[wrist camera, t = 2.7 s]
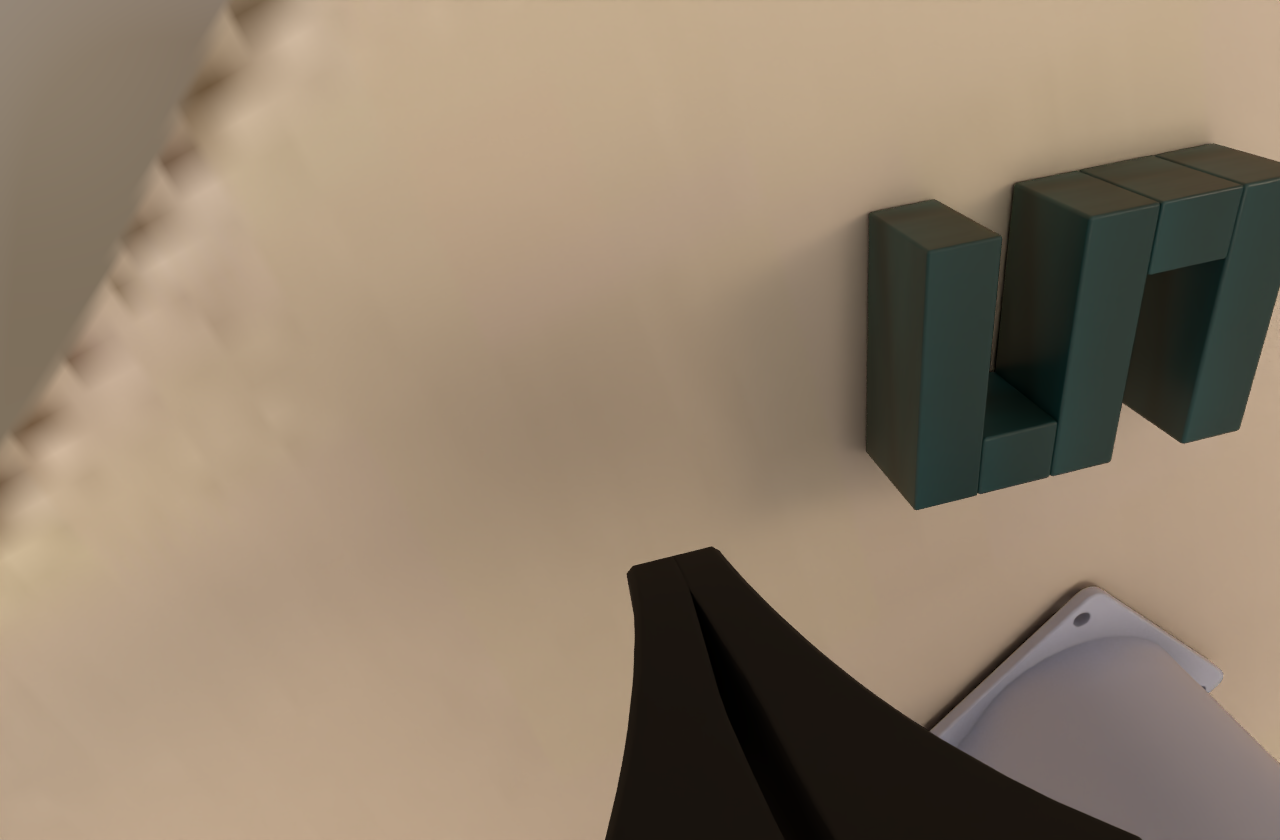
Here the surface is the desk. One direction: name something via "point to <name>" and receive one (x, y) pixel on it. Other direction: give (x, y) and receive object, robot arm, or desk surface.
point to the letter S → (1068, 319)
